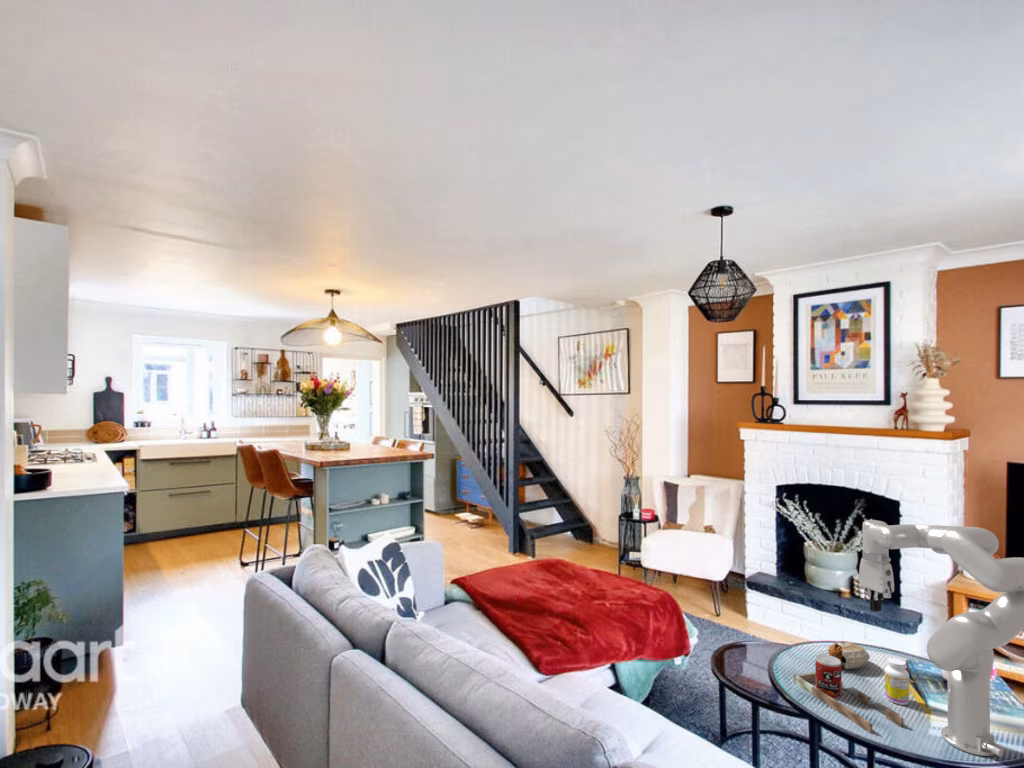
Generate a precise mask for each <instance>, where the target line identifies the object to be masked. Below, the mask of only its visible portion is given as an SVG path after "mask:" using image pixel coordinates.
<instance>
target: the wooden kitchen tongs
mask: <svg viewBox="0 0 1024 768" xmlns="http://www.w3.org/2000/svg"><path fill="white" fill-rule="evenodd" d="M810 682H816V671H813V672H806V673H799V674H794V675H793V683H794V684H795V685H797V686H799V687H800V688H802V689H803V690H805V691H806V692H808V693H809V694H810V695H812V696H813V697H814V698H815V697H816V698H817V699H818V700H819V701H821V702H822V703H824V704H826V705H827V706H829V707H830V708H831V709H833V710H835V711H837V712H838V713H839V714H840V715H843V716H844V717H845V718H847V719H848V720H849V721H851V722H853V723H854V724H856V725H857V726H859V727H861V728H862V729H863V730H865V731H866V732H868V733H869V734H871V733H873V727H874V726H873V723H872V722H870V721H869V720H867V719H865V718H864V717H862V715H860V714H858V713H856V712H855V711H853V710H852V709H850V708H848V706H846V705H844V704H843V703H840V701H837V700H836V698H832V697H830V696H828V695H827V694H825V693H824V692H822V691H821V690H819V689H817V688H816V686H814V685H813V684H811V683H810ZM843 687H844V685H843V681H842V680H841V691H842V690H843V691H844V692H846V693H848V694H850V695H851V696H853V697H854V698H856V699H857V701H858V702H860V703H862V704H863V705H865V706H869V707H871V708H872V709H874V710H876V711H878V712H879V713H880V714H882V715H884V716H885V718H886V719H887V720H889V721H891V722H892V723H894V724H895V725H896V726H898V727H900V728H903V727H904V725H905V723H904V717H902V716H900V714H899V713H897V712H896V711H895V710H892V709H891V708H889V707H888V706H886V705H884V704H882V703H881V702H875V703H869V702H870V701H869V700H871V699H872V697H871V696H869V695H867V694H865V693H864V692H862V691H860V690H859V689H857V688H855V687H854V686H851V687H846V688H843Z"/></svg>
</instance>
